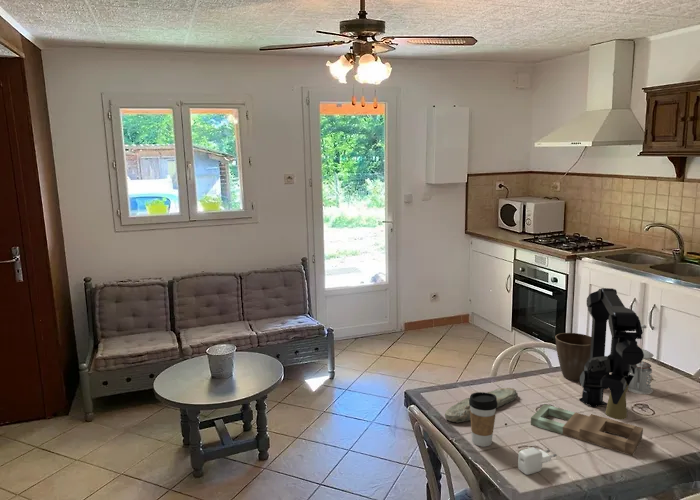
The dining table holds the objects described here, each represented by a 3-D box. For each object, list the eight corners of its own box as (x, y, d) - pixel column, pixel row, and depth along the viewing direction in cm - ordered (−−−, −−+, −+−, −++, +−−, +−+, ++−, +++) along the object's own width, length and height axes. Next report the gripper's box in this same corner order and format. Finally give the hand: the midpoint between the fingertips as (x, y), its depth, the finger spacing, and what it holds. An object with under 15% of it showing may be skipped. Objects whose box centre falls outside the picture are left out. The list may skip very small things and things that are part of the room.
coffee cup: (490, 451, 163) (492, 404, 160) (463, 444, 167) (465, 398, 165) (499, 439, 170) (501, 393, 167) (473, 432, 174) (474, 388, 172)
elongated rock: (524, 403, 198) (502, 395, 205) (525, 389, 197) (502, 381, 205) (460, 427, 176) (437, 418, 184) (460, 412, 176) (437, 402, 184)
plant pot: (548, 369, 224) (550, 332, 221) (584, 369, 223) (587, 332, 220) (560, 385, 209) (563, 345, 206) (600, 385, 209) (603, 345, 206)
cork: (625, 411, 169) (628, 378, 167) (628, 420, 164) (631, 386, 162) (604, 409, 171) (606, 375, 169) (606, 417, 165) (609, 383, 164)
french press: (654, 386, 207) (659, 323, 202) (651, 398, 197) (657, 331, 193) (625, 381, 212) (630, 319, 208) (621, 392, 202) (626, 327, 198)
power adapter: (545, 459, 158) (547, 440, 157) (558, 467, 154) (559, 448, 153) (515, 468, 154) (516, 449, 153) (527, 477, 150) (528, 457, 149)
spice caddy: (642, 438, 169) (642, 428, 169) (632, 455, 160) (633, 444, 159) (544, 410, 188) (544, 401, 188) (530, 424, 179) (531, 414, 178)
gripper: (601, 338, 176) (597, 384, 179) (583, 355, 162) (580, 404, 164) (639, 345, 169) (635, 393, 172) (624, 364, 155) (620, 415, 157)
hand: (617, 400), depth 167 cm, fingers closed on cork, 4 cm apart
